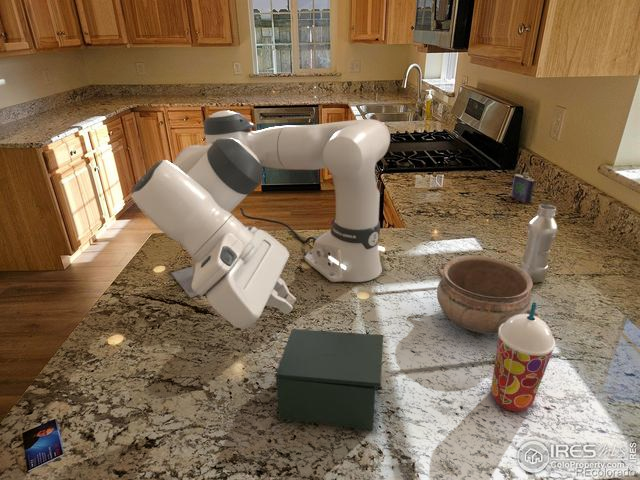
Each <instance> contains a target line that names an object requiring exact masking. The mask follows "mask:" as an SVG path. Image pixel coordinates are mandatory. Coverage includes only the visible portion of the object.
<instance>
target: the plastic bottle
mask: <svg viewBox="0 0 640 480" xmlns="http://www.w3.org/2000/svg"><path fill="white" fill-rule="evenodd" d="M556 212H557V207H556V206H554V205H551V204H540V205H538V210H537V212H536V214H537V215H536V216H535V217H533V218H532V219H531V220H530V221H529V222H528V224H527V229H526V231H527V234H526V246H525V250H524V253H523V257H522V260H521V261H520V264H519V266H518V267H520V268H521V269H523V270H524V271H525V272H527V273H528V275H529V276H530V277H531V279H532V283H541V282H543V281H544V280H546V278H547V276H548V270H549V266H548V265H549V258H550V257H549V256H550V252H551V249H552V246H553V243H554V241H555V238H556V235H557V233H558V224H557V221H556V219H555V218H554V217H556Z"/></svg>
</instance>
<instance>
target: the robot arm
mask: <svg viewBox="0 0 640 480" xmlns="http://www.w3.org/2000/svg"><path fill="white" fill-rule="evenodd" d="M254 127H255V124H254V123H253V122H249V120H248V119H247V118H246V116H244V115H243V114H241V113H239V112H234V111H230V110H219V111H216V112H214V113H212V114H211V115H209V116H207V117H206V118H205V119H204V121H203V134H204V135H205V145H202V144H192V145H188V146H186V147H184V148H183V149H181V150H180V151H179V152H178V153H177V155H176V156H175V158H174V160H173V162H170V161H169V160H167V159H162V160H158V161H157V162H155V163H154V164H153V165H152V166H151V168H149V169H148V170H147V172H146V173H145V174H144V175H143V176H142V177H141V178H140V179H139V180H138V181H137V182H136V183H135V184H134V186H133V187H132V190H131V193H130V197H131V199H132V200H133V202H134V204H136V206H137V207H138V208H139V209H140V211H141V212H142V213H143V214H144V215H145V216H146V217H147V218H148V220H150V221H151V222H152V223H153V225H155V226H156V227H157V228H158V229H159V230H160V231H161V232H162V233H163V234H164V235H166V237H167V238H169V239H171V240H174V241H176V242H177V243H179V244H180V245H181V246H182V247H183V248H184V250H185V251H186V252H187V254H188V255H189V256H190V258H191V257H192V258H193V259H194V260H195V261H196V262H197V263H196V266H195V273H194V277H193V281H192V285H191V287H192V289H193V290H194V291H195V292H196V293H197V294H199V295H198V296H204V295H205V294H206V299H207V302H208V304H209V305H210V306H211V307H212V308H213V309H214V310H215V311H216V312H217V313H218V314H219V315H220V316H221V317H223V319H225V320H226V321H228V323H230V324H232V325H233V327H235V328H237V329H243V330H245V329H248V328H250V327H251V326H252V325H253V324H254V323H255V322H256V321H258V320H259V319H260V318H261V315H262V313H263V311H264V309H265V307H266V306H268V307H271V308H275V309H278V310H279V311H280V312H281V313H283V314H284V315H288V314H289V313H291V312H292V311H293V309H294V306H295V305H296V304H295V303H296V301H297V298H296V297H295V296H294V295H293V294H292V293H291V292H290V290H289V288H288V286H287V284H286V282H285V281H284V280H283V279H282V278H281V277H280V276H281V274H282V273H283V270H284V268H285V266H286V264H287V262H288V260H289V259H290V258H289V257H290V253H289V251H288V249H287V247H286V246H284V245H283V244H282V243H281V242H280V241H278V240H277V239H276V238H274V237H273V236H272V235H271V234H270V233H269V232H267V231H266V230H264V229H260V228H259V229H258V228H257V227H256V226H250V225H244V224H243V223H242V222H241V221H240V220H239V219H238V218H237V217H236V216H235V215H233V214H232V212H233V211H234V210H235V209H236V208H237V206H238V205H239V204H241V203H242V202H243V200H244V199H245V198H247V196H250V195H252V194H253V193H254V191H255V190H256V189H257V188H258V187H259V186H260V185H261V184H262V181H263V168H269V169H273V170H274V169H276V170H288V171H289V170H290V171H291V170H292V171H294V170H295V171H299V170H300V171H316V170H317V171H318V170H322V169H326V170H327V171H328V172H329V173H330V174H331V175H330V176H331V179H332V183H333V188H334V194H335V217H334V218H333V219H330V220H328V224H327V225H328V226H331V228H330V230H328V231H325V232H324V233H322V234H319V235H317V236H309V237H307V238H306V239H303V238H302V237H301V236H300V235H299V234H298V232H296V231H295V230H294V229H293V228H292V227H291V226H290V225H289V224H287V223H284V222H282V221H278V220H273V219H268V218H263V217H257V216H251V215H247V214H245V212H244V207H242V206H241V207H240V209H239V210H240V212H241V215H242V216H243V217H244V218H246V219H250V220H256V221H264V222H268V223H274V224H279V225H282V226H283V227H286V228H287V229H288V230H289V231H290V232H291V233H292V234H293V235H294V236H296V238H297V239H298V240H299V241H300V242H302V243H305V244H306V243H308V242H309V241H310V240H312V249H311V250H310V251H309V252H307V253H306V255H304V261H305V262H306V263H307V264H309V265H310V266H311V267H312V268H313V269H315V270H316V271H317V272H319V273H320V274H321V275H322V276H324V278H326V279H327V280H329V281H330V282H332V283H337V282H339V283H340V282H350V283H363V282H368V281H372V280H374V279H377V278H379V276H381V274H382V271H383V267H382V262H381V256H380V251H382V252H385V250H386V248H385V247H383V246H380V245H379V239H380V235H381V234H380V232H381V221H380V220H379V219H380V201H381V200H380V199H381V198H380V197H381V193H380V190H379V189H378V186H377V179H376V165H377V163H378V162H380V160H382V159H383V157H384V156H385V155H386V154H387V152H388V150H389V147H390V143H391V133H390V130H389V128H388V127H387V125H385V124H384V123H383V122H382V121H380V120H377V119H373V118H366V119H365V118H363V119H353V120H343V121H335V122H327V123H319V124H302V125H282V126H274V127H273V126H272V127H268V128H264V129H260V130H256V131H255V130H252V128H254Z"/></svg>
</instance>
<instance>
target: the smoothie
mask: <svg viewBox="0 0 640 480" xmlns="http://www.w3.org/2000/svg"><path fill="white" fill-rule="evenodd" d="M531 303H532V305H531V310H530V314H517V315H515V316H512V317H511V318H509V319H508V320H507V321H506V322H505V323H503V324H501V326H500V327H499V332H498V333H497V339H496V340H497V341H496V349H495V356H494V363H493V364H494V365H493V372H492V378H491V379H492V380H491V386H490V387H491V388H490V390H491V393H492V396H493V398H494V400H495V402H496V403H497V405H499V406H500V407H501V408H503V409H506V410H507V411H511V412H518V413H519V412H523V411H525V410H527V409H528V408H530V407H531V406H532V405H533V404H534V401H535V398H536V397H537V393H538V391H539V388H540V387H541V383H542V380H543V378H544V375H545V372H546V370H547V367H548V364H549V362H550V359H551V357H552V354H553V352H554V349H555V347H556V339H555V338H554V335H553V332H552V330H551V328H550V327H549V326H548V324H547V323H546V322H545V321H544V320H543V319H542V318H541V319H540V318H539V317H537V316H534V313H535V312H536V309H537V305H538V304H537V302H535V301H533V302H531Z"/></svg>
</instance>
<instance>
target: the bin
mask: <svg viewBox="0 0 640 480" xmlns="http://www.w3.org/2000/svg"><path fill="white" fill-rule="evenodd" d="M275 381H276V383H275V384H276V395H277V396H276V397H277V409H278V411H277V412H278V419H281V420H289V421H297V422H305V423H313V424H319V425H328V426H336V427H343V428H350V429H351V428H352V429H359V430H368V431H373V430H374V418H375V417H374V416H375V400H376V387H373V386H362V385H350V384H339V383H327V382H316V381H305V380H293V379H282V378H276V377H275Z"/></svg>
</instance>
